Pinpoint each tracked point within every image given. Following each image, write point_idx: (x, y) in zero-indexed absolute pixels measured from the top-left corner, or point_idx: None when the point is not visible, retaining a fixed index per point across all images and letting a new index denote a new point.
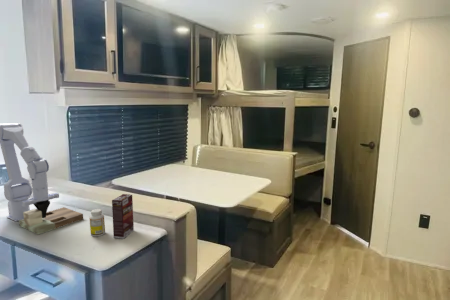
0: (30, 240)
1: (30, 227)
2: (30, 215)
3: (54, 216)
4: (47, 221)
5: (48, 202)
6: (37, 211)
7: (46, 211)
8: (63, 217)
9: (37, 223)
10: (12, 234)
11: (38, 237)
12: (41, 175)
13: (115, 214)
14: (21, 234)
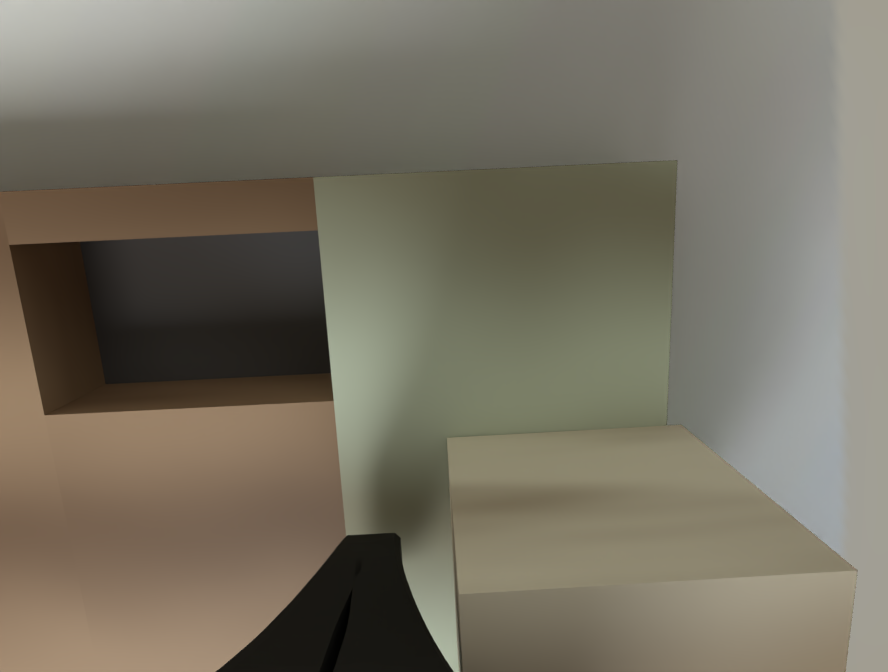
0: (826, 22)
1: None
2: (788, 548)
3: (165, 547)
4: (369, 398)
5: None
6: (553, 650)
7: (287, 610)
8: (48, 385)
9: (546, 435)
10: (836, 502)
11: (689, 37)
12: None
13: None
14: (769, 398)
